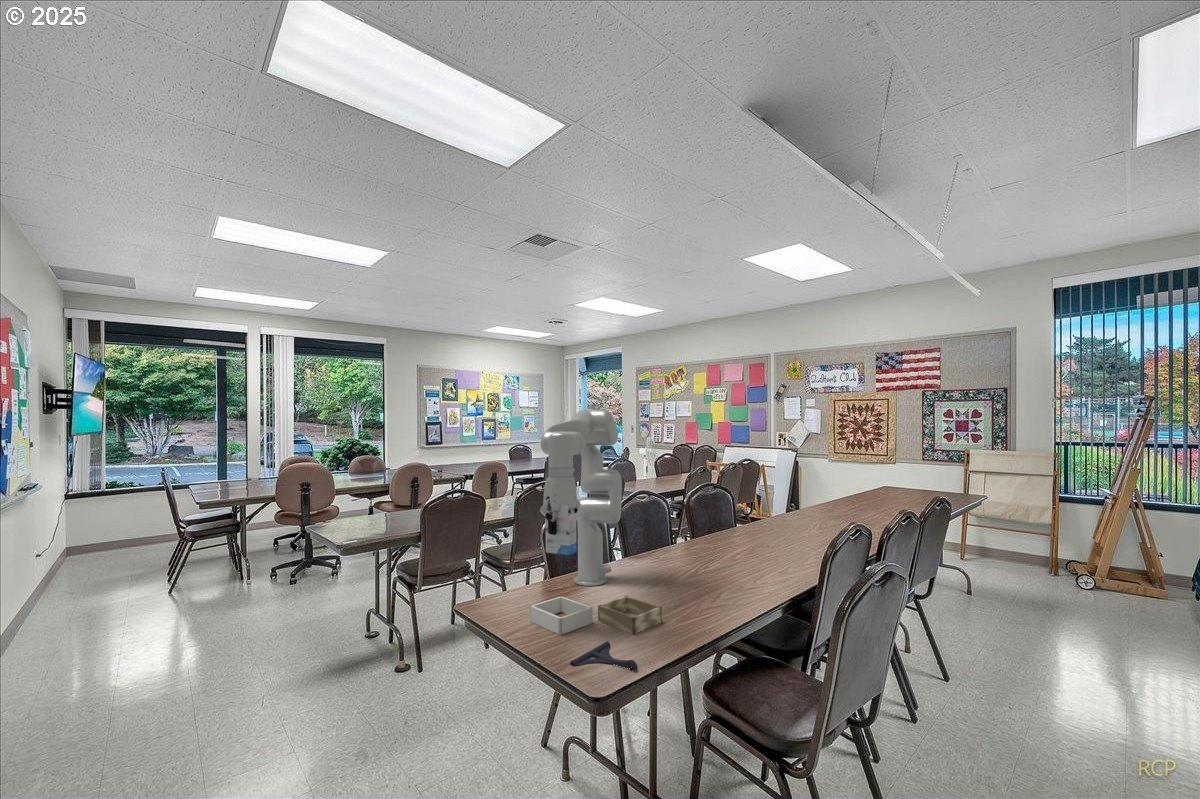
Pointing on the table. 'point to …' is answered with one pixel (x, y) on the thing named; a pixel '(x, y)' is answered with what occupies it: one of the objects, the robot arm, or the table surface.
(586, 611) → the frame
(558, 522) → the ink box
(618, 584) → the table surface
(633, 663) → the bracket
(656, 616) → the frame
